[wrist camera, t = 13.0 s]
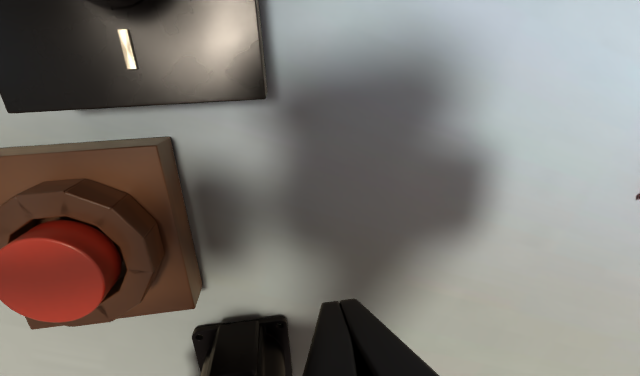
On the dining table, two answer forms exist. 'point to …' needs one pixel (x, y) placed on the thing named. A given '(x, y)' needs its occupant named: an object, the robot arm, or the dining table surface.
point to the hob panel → (129, 53)
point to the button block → (109, 216)
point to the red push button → (58, 271)
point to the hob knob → (114, 2)
